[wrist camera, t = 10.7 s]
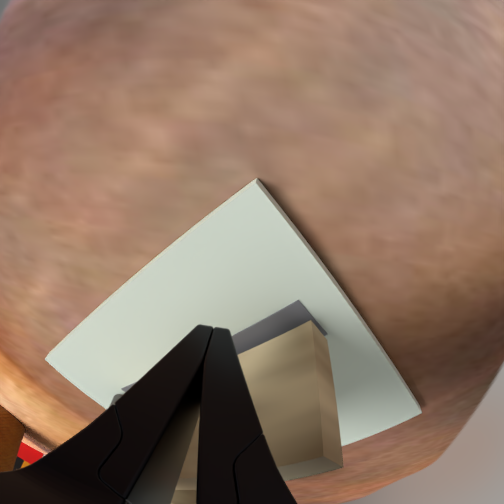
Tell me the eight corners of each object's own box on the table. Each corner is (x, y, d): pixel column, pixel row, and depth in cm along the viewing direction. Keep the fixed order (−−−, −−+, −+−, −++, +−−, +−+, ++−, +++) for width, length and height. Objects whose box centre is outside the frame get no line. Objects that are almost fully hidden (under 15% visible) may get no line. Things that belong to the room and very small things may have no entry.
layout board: (419, 405, 14) (422, 413, 13) (222, 467, 19) (221, 474, 19) (257, 177, 9) (255, 183, 8) (49, 352, 14) (44, 360, 14)
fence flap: (131, 414, 15) (101, 500, 9) (108, 397, 14) (71, 485, 9) (330, 340, 11) (350, 501, 5) (306, 311, 10) (319, 491, 4)
